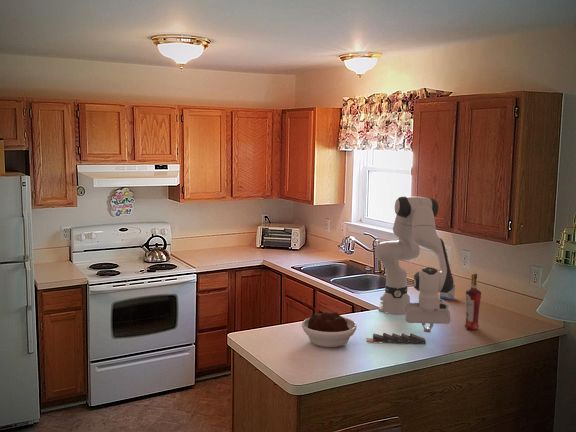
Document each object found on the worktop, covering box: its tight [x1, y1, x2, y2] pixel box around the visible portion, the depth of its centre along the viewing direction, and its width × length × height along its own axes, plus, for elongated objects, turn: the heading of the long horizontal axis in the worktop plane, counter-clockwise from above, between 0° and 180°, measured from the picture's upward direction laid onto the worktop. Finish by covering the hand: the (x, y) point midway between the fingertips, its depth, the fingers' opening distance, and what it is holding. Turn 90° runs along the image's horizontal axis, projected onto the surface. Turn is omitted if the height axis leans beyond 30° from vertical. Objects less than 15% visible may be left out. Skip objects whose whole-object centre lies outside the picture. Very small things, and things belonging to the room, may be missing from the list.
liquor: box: [464, 272, 482, 331], centre depth 294 cm, size 7×7×28 cm
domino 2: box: [372, 333, 390, 344], centre depth 276 cm, size 4×1×7 cm
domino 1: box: [366, 337, 383, 343], centre depth 276 cm, size 4×1×7 cm
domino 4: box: [392, 333, 409, 345], centre depth 275 cm, size 4×1×7 cm
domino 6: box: [408, 332, 427, 345], centre depth 275 cm, size 4×1×7 cm
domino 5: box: [400, 332, 418, 345], centre depth 275 cm, size 4×1×7 cm
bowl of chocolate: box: [301, 311, 357, 348], centre depth 272 cm, size 25×25×15 cm
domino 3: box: [382, 332, 399, 344], centre depth 275 cm, size 4×1×7 cm
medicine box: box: [439, 284, 456, 301], centre depth 349 cm, size 8×4×9 cm, turn 62°
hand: (427, 332), depth 274 cm, fingers closed
